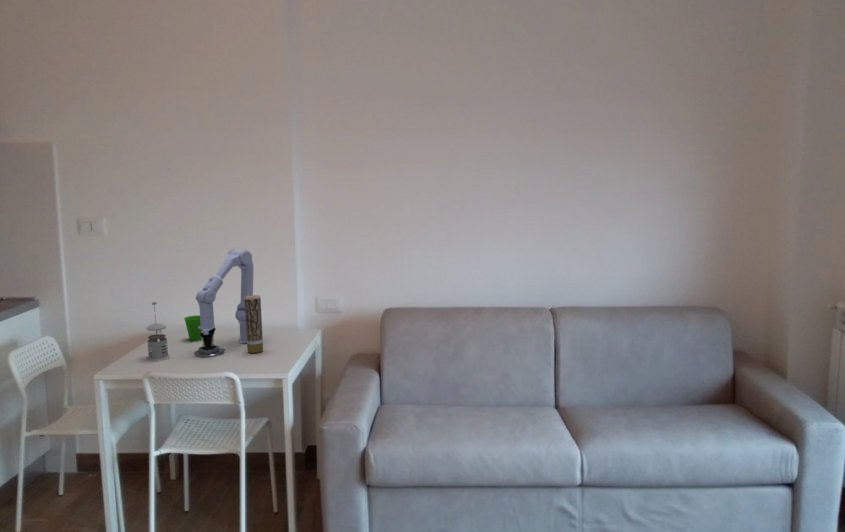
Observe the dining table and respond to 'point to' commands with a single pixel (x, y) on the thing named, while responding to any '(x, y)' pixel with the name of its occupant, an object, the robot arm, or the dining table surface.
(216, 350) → the flange ring
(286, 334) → the dining table surface
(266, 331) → the dining table surface
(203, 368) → the dining table surface
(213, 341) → the silver metal canister
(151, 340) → the french press
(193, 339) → the cup
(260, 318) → the paper tube
